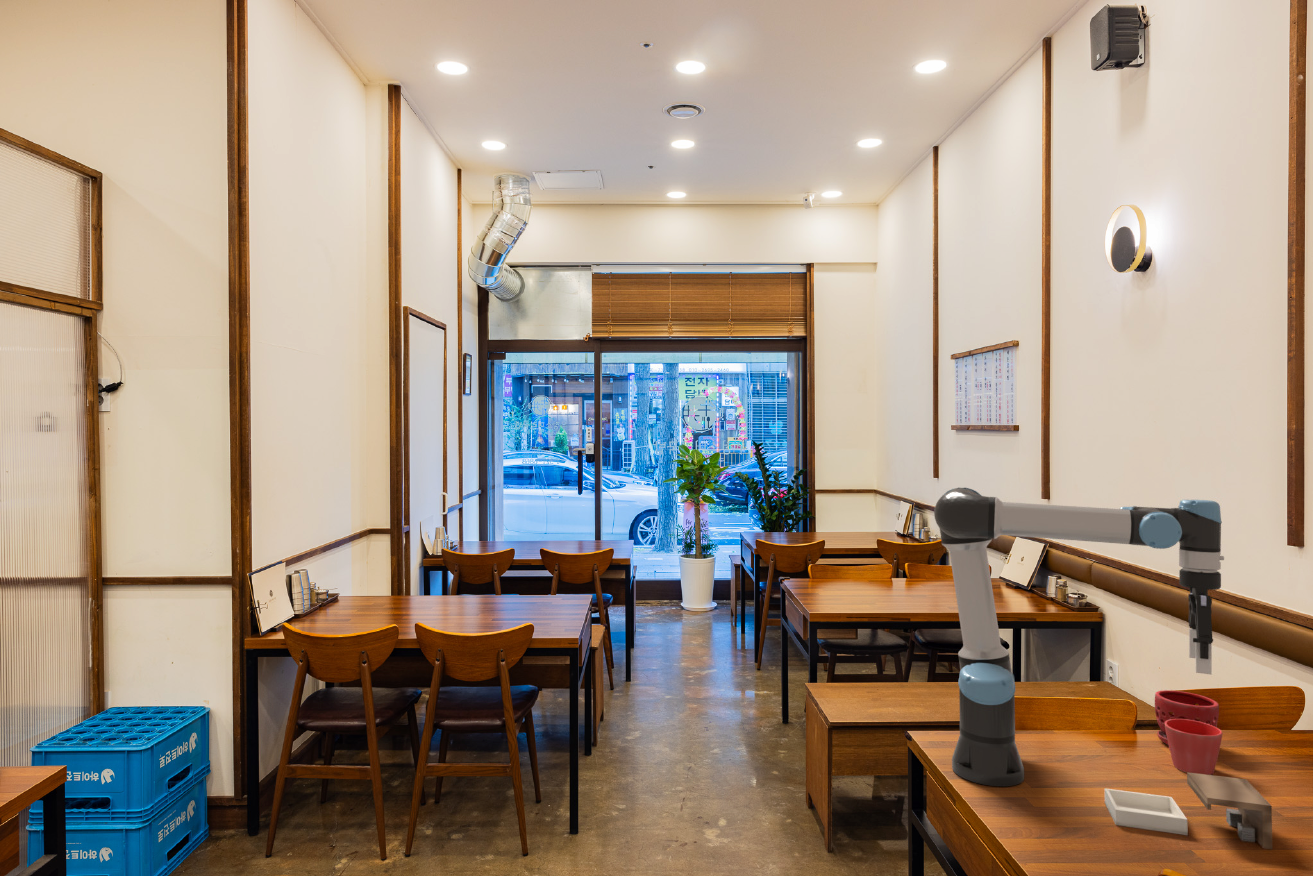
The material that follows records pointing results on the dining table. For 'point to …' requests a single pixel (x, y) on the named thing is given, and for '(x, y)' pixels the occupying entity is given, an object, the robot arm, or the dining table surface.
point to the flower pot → (1193, 745)
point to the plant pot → (1183, 709)
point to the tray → (1145, 811)
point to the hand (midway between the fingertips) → (1199, 665)
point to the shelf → (1236, 801)
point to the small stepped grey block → (1240, 825)
